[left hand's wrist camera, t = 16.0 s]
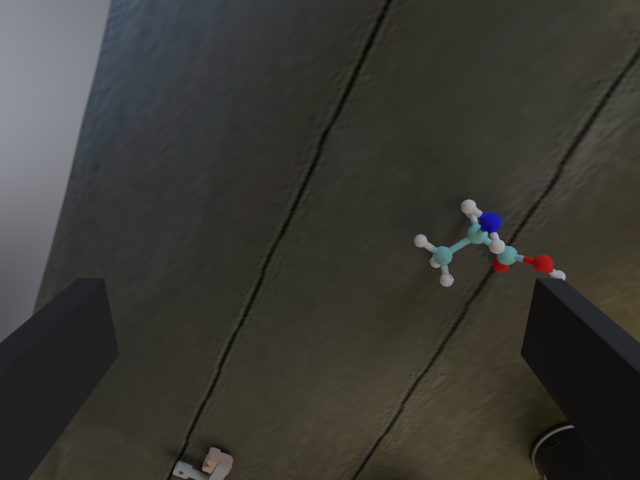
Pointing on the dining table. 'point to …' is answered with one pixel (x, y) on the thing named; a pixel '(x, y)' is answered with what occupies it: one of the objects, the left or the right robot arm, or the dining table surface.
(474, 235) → the molecular model
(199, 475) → the clamp
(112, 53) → the dining table surface
